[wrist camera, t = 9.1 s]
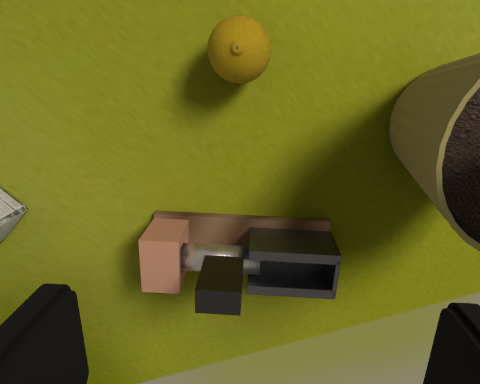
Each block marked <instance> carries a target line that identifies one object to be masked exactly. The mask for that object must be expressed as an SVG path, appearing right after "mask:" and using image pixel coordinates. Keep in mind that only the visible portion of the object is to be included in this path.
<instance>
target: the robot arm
mask: <svg viewBox="0 0 480 384" xmlns="http://www.w3.org/2000/svg"><path fill="white" fill-rule="evenodd" d="M88 374H89V369H88V363H87V356H86V350H85V344H84V338H83V332H82V326H81V320H80V313H79V307H78V301H77V295H76V293H75V291H71V289H70V287H69V286H68V285H65V284H43V285H42V286H40V287H39V288H38V289H37V290H36V291H35V292H34V293H33V294H32V295H31V296H30V297H29V298H28V299H27V300H26V301H25V302H24V303H23V304H22V305H21V306H20V307H19V308H18V309H17V310H16V311H15V312H14V313H13V314H12V315H11V316H9V317H8V318H7V319H6V320H5V321H4V322H3V323H2V324H1V325H0V384H86V383H87V380H88ZM423 384H480V306H479V305H478V304H470V303H450V304H449V305H448V307H447V308H445V309H443V310H442V311H441V313H440V317H439V321H438V325H437V330H436V333H435V338H434V342H433V346H432V350H431V354H430V358H429V362H428V366H427V370H426V374H425V378H424V382H423Z"/></svg>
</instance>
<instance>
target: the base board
mask: <svg viewBox="0 0 480 384" xmlns="http://www.w3.org/2000/svg"><path fill="white" fill-rule="evenodd" d="M154 218H162V219H181V220H189V243H201V244H219V245H237V246H249V245H250V227H256V228H275V229H293V230H312V231H331V224H332V223H331V221H330V220H325V219H306V218H287V217H267V216H248V215H229V214H210V213H191V212H172V211H156V212H155V213H154Z"/></svg>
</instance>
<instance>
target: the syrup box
mask: <svg viewBox="0 0 480 384" xmlns="http://www.w3.org/2000/svg"><path fill="white" fill-rule="evenodd" d="M27 210H28V208H26V207H25V206H24V205H23V204H21V203H20V202H19V201H17V200H16V199H15V198H14V197H12V196H11V195H10V194H9V193H7V192H6V191H5V190H3V189H2V188H1V187H0V242H1V241H3V240H4V239H5V238H6V236H7V235H8V234H9V233H10V231H11V230H12V229H13V227H14V226H15V225H16V224H17V222H18V221H19V220H20V219H21V217H22V216H23V215H24V214H25V212H26V211H27Z"/></svg>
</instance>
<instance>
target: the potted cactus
mask: <svg viewBox="0 0 480 384" xmlns="http://www.w3.org/2000/svg"><path fill="white" fill-rule="evenodd" d="M389 138H390V142H391V145H392V149H393V151H394V152H395V154H396V155H397V158H398V159H399V160H400V162H401V163H402V164H403V165H404V167H405V168H406V169H407V171H408V172H409V173H410V174H411V176H412V177H413V178H414V179H415V181H416V182H417V183H418V185H419V186H420V187H421V188H422V190H423V191H424V192H425V193H426V195H427V196H428V197H429V199H430V200H431V201H432V202H433V204H434V205H435V206H436V208H437V209H438V210H439V212H440V213H441V214H442V216H443V217H444V218H445V219H446V220H447V221H448V222H449V224H450V226H451V227H452V228H453V229H454V230H455V231H456V232H457V234H458V235H459V236H460V237H461V238H462V239H463V240H464V241H465V242H466V243H468V244H469V245H471V246H472V247H474V248H475V249H477V250H478V251H480V53H479V54H476V55H473V56H470V57H466V58H463V59H460V60H457V61H454V62H451V63H448V64H444V65H441V66H438V67H437V68H435V69H432V70H429V71H427V72H426V73H424V74H422V75H421V76H419V77H417V78H416V79H415V80H414V81H413V82H411V83H410V84H409V85H408V86H407V87H406V88H405V90H404V91H403V92H402V93H401V95H400V96H399V98H398V99H397V101H396V103H395V105H394V107H393V110H392V113H391V116H390V122H389Z"/></svg>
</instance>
